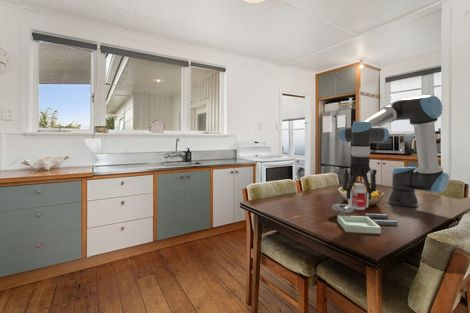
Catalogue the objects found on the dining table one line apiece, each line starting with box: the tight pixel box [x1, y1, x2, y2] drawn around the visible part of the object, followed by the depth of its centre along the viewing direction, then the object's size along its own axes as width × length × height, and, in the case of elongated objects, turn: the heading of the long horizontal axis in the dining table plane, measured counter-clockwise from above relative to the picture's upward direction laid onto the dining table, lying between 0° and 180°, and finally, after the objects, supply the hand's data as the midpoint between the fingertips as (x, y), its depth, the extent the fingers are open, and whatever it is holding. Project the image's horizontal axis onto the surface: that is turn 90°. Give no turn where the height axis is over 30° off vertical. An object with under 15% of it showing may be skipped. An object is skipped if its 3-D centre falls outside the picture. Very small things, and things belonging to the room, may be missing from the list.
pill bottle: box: [351, 182, 367, 211], centre depth 108 cm, size 6×6×11 cm
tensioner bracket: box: [364, 213, 399, 227], centre depth 117 cm, size 10×11×2 cm
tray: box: [336, 214, 382, 235], centre depth 109 cm, size 14×14×3 cm
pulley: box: [331, 203, 355, 216], centre depth 122 cm, size 10×10×6 cm
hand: (358, 206), depth 108 cm, fingers closed on pill bottle, 6 cm apart
